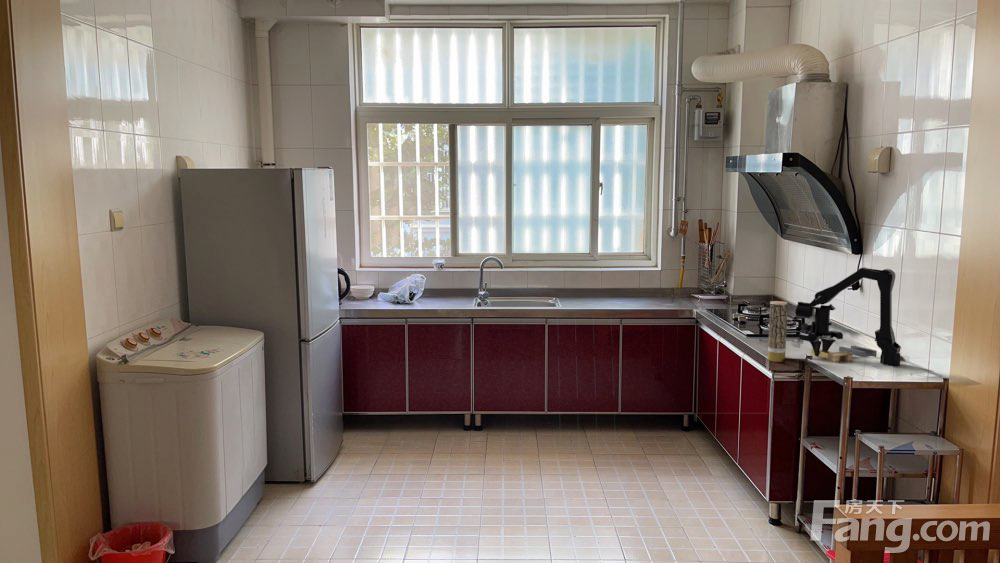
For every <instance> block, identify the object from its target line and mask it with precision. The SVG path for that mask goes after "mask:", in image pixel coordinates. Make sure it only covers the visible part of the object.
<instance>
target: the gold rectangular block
mask: <svg viewBox="0 0 1000 563" xmlns="http://www.w3.org/2000/svg"><path fill="white" fill-rule="evenodd" d="M828 353H834V351H833V352H832V351H829V350H828V351H825V350H822V348H820V350H819V354H818V356H817V357H819V358H823V359H826V360H827V357H828ZM810 355H811V356H814V357H816V356H815V354H814V350H813V348H811V349H810ZM839 359H840V356H839Z"/></svg>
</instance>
